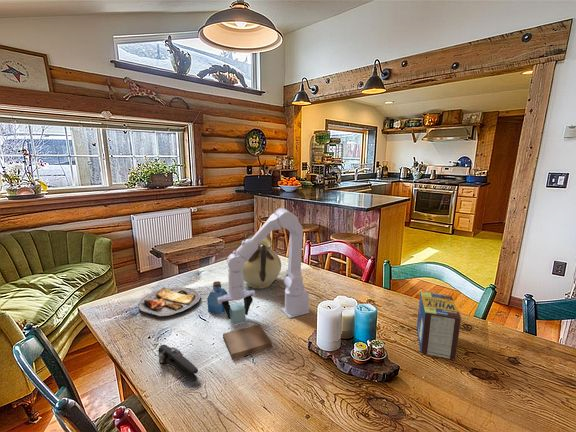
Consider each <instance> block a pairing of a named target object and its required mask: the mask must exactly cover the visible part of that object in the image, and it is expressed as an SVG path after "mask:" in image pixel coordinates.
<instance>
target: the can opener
mask: <svg viewBox="0 0 576 432" xmlns="http://www.w3.org/2000/svg"><path fill="white" fill-rule="evenodd" d="M157 352H158V358H159V359H158V364H159V365H160V366H171V367H172V368H173V369H175V370H176V371H177V372H178V373H179V374H180V375H182V376H183V377H184V378H185V379H186V380H189V381H191V382H195V381H196V380H197V379H198V377H197V375H196V374H197V373H198V372H199V370H198V367H196V365H194V364H193V363H192V362H191V361H190V360H189V359H188V358H186V357H185V356H184V355H183V353H182V352H181V351H180V350H179V349H178V348H176V347H173V346H172V347H170V346H169V345H167V344H161V345H159V347H158V351H157Z"/></svg>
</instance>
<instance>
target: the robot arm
mask: <svg viewBox="0 0 576 432" xmlns="http://www.w3.org/2000/svg"><path fill="white" fill-rule="evenodd" d="M281 227H282V228H283V229H285V230H287V231H288V232H289V242H288V243H289V244H288V259H287V260H288V261H287V263H288V264H287V269H286V271H285V275H284V278H283V284H284V285H285V289H284V306H283V307H281V310H282V312H283V313H284V314H285V315H286V317H287V318H289V319H292V318H294V317H295V318H296V317H300V316H303V315H306V314H309V313H310V311H309V293H308V292H307V290H306V289H305V283H304V282H303V276H302V275H303V274H302V254H303V239H304V238H303V236H304V235H303V234H304V227H303V226H302V224H301V222H300V221H299V218H298V217H297V216H296V215H295V214H294V213H292V212H291V211H289V210H288V209H287V208H285V207H279V208H277V209H276V210H275V211H274V213H272V214H270V216H269V217H268V218H267V220H266V221H264V223H263V224H262V226H260V228H259V229H258V231H256V234H255V235H254V236H253V237H252V238H251V239H246V240H245V239H244V240H242V241H241V245H240V246H239V247H238V248H237V249H236V250H233V251H232V253H230V254H229V255H228V256H227V259H226V263H227V266H228V273H227V275H228V278H227V279H228V293H227V294H226V295H224V296H221V297H218V304H222V305H223V307H224V308H225V310H224V312H225V313H226V317H227V319H228V320H230V305H231V304H230V302H233V301H239V300H242V299H243V306H244V307H245V316H248V313H249V309H250V306H251V304H252V303H253V300H254V299H253V297H256V291H255V290H254V289H252V290H245V287H244V286H245V285H244V283H245V281H244V279H243V268H244V263H245V262H246V261H247V260H248V259H249V258H250V257H251V256H252V255H253V254H254V253H255V251H256V250H257V249H258V244H259V243H260V242H261V241H262V240H263V239H264V238H265V237H266V236H267V235H268V234H269V235H270V234H271V232H273V231H277V230H281V229H282V228H281Z"/></svg>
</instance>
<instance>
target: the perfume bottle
mask: <svg viewBox="0 0 576 432" xmlns="http://www.w3.org/2000/svg"><path fill="white" fill-rule="evenodd" d="M212 284H213V285H212V290H211V291H210V293H209V294H208V297H206V298H207V299H206V300H207V313H214V314H223V313H224V312H225V308H224V307H223V305H222V304H218V297H221V296H224V295H226V294H228V292H227V291H226V289H224V288H223V287H222V284H221V281H214V282H213V283H212Z"/></svg>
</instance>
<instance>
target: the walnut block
mask: <svg viewBox="0 0 576 432" xmlns="http://www.w3.org/2000/svg"><path fill="white" fill-rule="evenodd" d="M222 339H224V340H223V342H224V344H225V346H226V349H227V352H228V354H229V356H230V359H231V360H235V359H238V358H239V359H240V358H242V357H245V356H249V355H251V354H256V353H257V352H261V351H265V350H267V349H270V348H272V347H273V341H272V339H271V338H270V337H269V336H268V334H267V332H266V331H265V330H264V328H263V327H262V325H261V323H257V324H254V325H250V326H247V327H242V328H240V329H235V330H232V331H228V332H223V334H222Z"/></svg>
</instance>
